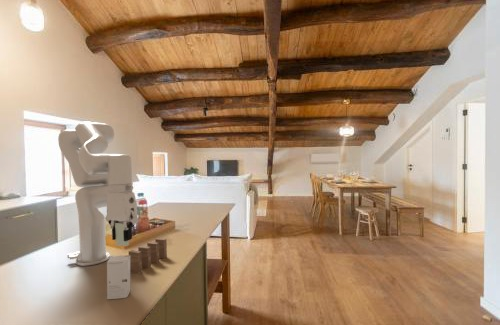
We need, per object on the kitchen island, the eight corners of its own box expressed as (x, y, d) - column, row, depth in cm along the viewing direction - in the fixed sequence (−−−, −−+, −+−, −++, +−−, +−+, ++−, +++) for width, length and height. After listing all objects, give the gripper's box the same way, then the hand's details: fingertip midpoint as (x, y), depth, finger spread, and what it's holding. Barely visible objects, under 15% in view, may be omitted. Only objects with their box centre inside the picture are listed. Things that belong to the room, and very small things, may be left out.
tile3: (156, 263, 107) (156, 244, 107) (147, 261, 109) (147, 242, 108) (159, 261, 108) (158, 242, 108) (150, 260, 110) (149, 241, 110)
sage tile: (125, 246, 91) (124, 223, 91) (115, 245, 93) (114, 222, 93) (129, 244, 93) (128, 222, 93) (119, 243, 94) (118, 221, 94)
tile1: (138, 273, 98) (138, 253, 97) (129, 272, 99) (128, 251, 99) (141, 272, 99) (141, 251, 99) (132, 270, 101) (131, 250, 100)
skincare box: (106, 300, 80) (105, 261, 80) (111, 292, 84) (110, 256, 84) (128, 297, 81) (127, 259, 81) (131, 290, 86) (130, 254, 85)
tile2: (147, 268, 102) (147, 248, 102) (138, 266, 104) (138, 247, 103) (150, 266, 104) (150, 246, 103) (141, 265, 105) (141, 245, 105)
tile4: (164, 258, 112) (164, 240, 111) (155, 257, 113) (155, 239, 113) (166, 257, 113) (166, 239, 113) (158, 255, 115) (157, 238, 114)
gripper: (147, 188, 93) (148, 238, 93) (111, 186, 99) (113, 234, 99) (131, 191, 86) (132, 245, 86) (93, 189, 92) (95, 240, 92)
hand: (122, 238), depth 93 cm, fingers closed on sage tile, 4 cm apart
